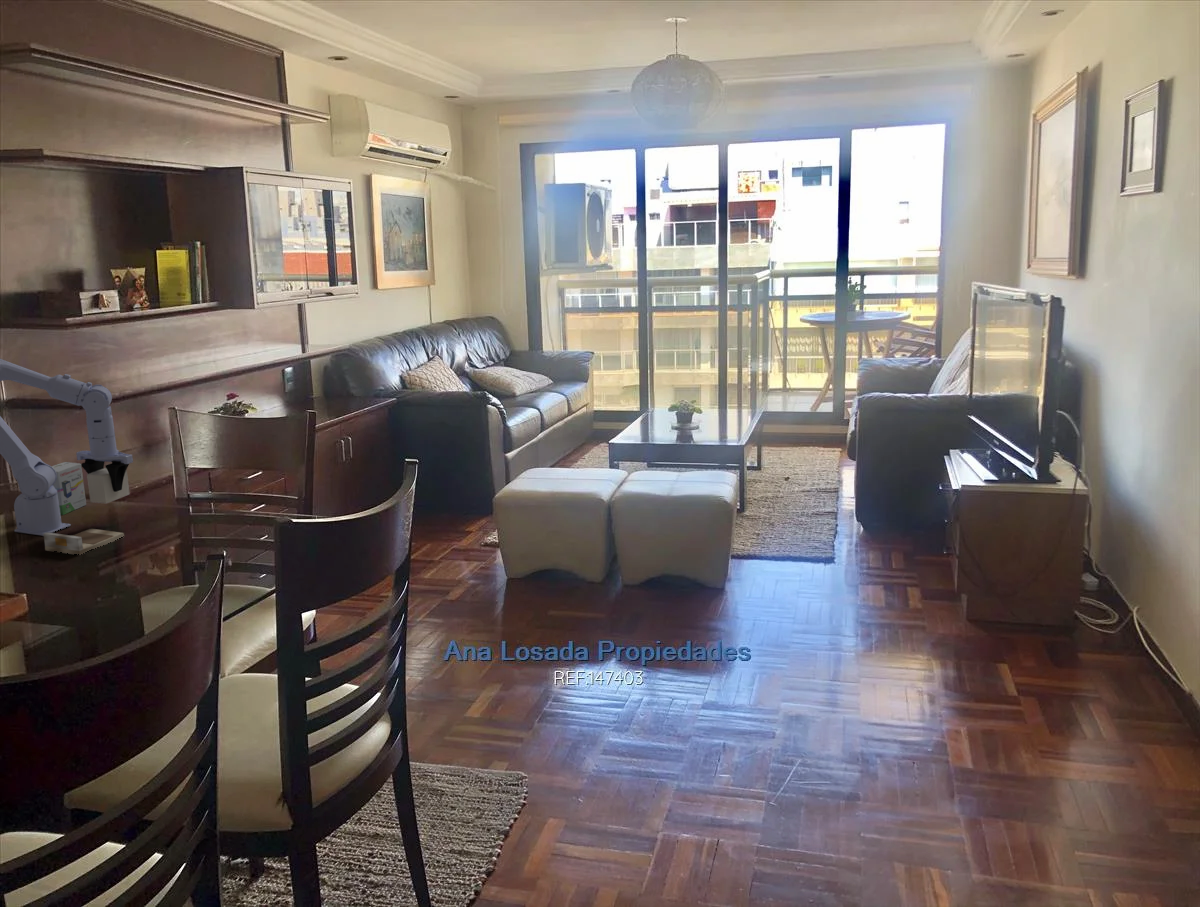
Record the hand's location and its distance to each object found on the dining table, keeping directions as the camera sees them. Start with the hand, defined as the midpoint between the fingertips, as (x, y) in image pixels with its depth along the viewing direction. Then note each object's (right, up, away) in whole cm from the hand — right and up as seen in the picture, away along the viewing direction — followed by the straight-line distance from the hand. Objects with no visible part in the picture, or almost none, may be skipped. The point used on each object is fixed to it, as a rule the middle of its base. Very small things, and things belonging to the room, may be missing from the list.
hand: (108, 489), depth 231 cm
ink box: (-18, -6, +13) cm, 23 cm away
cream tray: (+1, -12, -11) cm, 17 cm away
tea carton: (0, -2, +1) cm, 2 cm away
